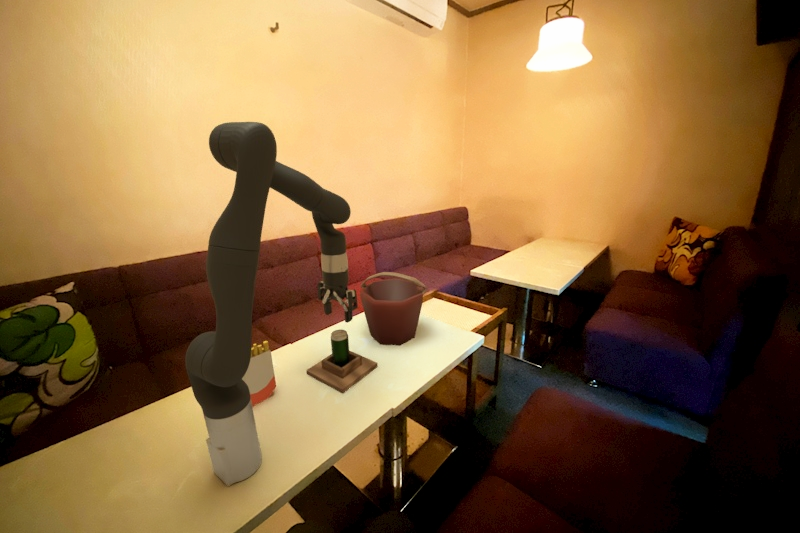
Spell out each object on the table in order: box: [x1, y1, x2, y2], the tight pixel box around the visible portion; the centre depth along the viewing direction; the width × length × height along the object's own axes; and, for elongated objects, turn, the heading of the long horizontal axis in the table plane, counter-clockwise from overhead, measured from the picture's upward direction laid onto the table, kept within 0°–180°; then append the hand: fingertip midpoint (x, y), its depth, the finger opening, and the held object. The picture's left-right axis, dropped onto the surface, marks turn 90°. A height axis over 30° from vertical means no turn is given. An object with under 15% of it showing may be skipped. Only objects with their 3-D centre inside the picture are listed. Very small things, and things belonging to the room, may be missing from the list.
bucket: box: [359, 271, 428, 347], centre depth 130 cm, size 24×22×25 cm
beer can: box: [330, 329, 350, 368], centre depth 111 cm, size 5×5×12 cm
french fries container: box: [242, 340, 277, 407], centre depth 98 cm, size 5×11×18 cm, turn 135°
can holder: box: [305, 350, 378, 394], centre depth 113 cm, size 16×16×4 cm
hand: (338, 317), depth 107 cm, fingers open, 8 cm apart
